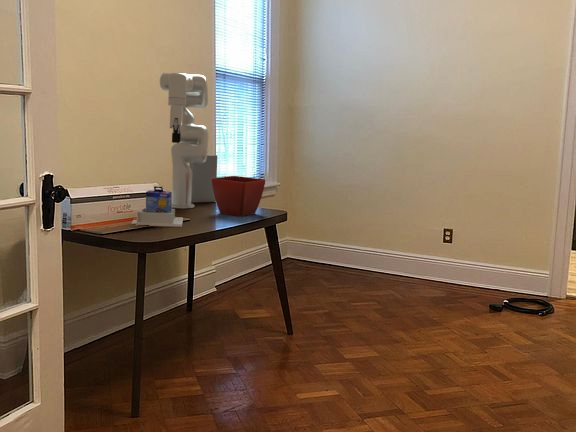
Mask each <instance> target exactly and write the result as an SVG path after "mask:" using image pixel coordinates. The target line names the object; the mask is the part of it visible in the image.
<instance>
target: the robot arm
mask: <svg viewBox="0 0 576 432" xmlns="http://www.w3.org/2000/svg"><path fill="white" fill-rule="evenodd" d="M159 85H160V88H161V90H162V91H167V92H168V99H167V100H168V101H167V102H168V103H167V105H168V106H170V110H169V111H170V112H169V129H172V133H171V143H174V144H173V145H172V146H171V150H170V151H171V162H172V175H171V177H172V178H171V179H172V184H171V185H172V186H171V187H172V189H171V190H172V191H171V192H172V204H171V209H193V208H195V204H194V203H192V202H191V196H192V170H191V169H190V167H189V164H190V163H204V162H205V161H206V160H207V155H208V152H209V151H208V150H209V130H208V128H207V127H206V126H205V125H201V124H200V125H199V124H198V125H197V124H195V117H194V115H193V114H192V112H191V111H190V110H189V109H188V108H192V109H205V108H207V106H208V104H209V93H208V82H207V79H206V76H204V75H202V74H188V73H181V72H170V73H169V72H168V73H167V72H163V73H162V74H161V75H160V77H159ZM188 163H189V164H188Z"/></svg>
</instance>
